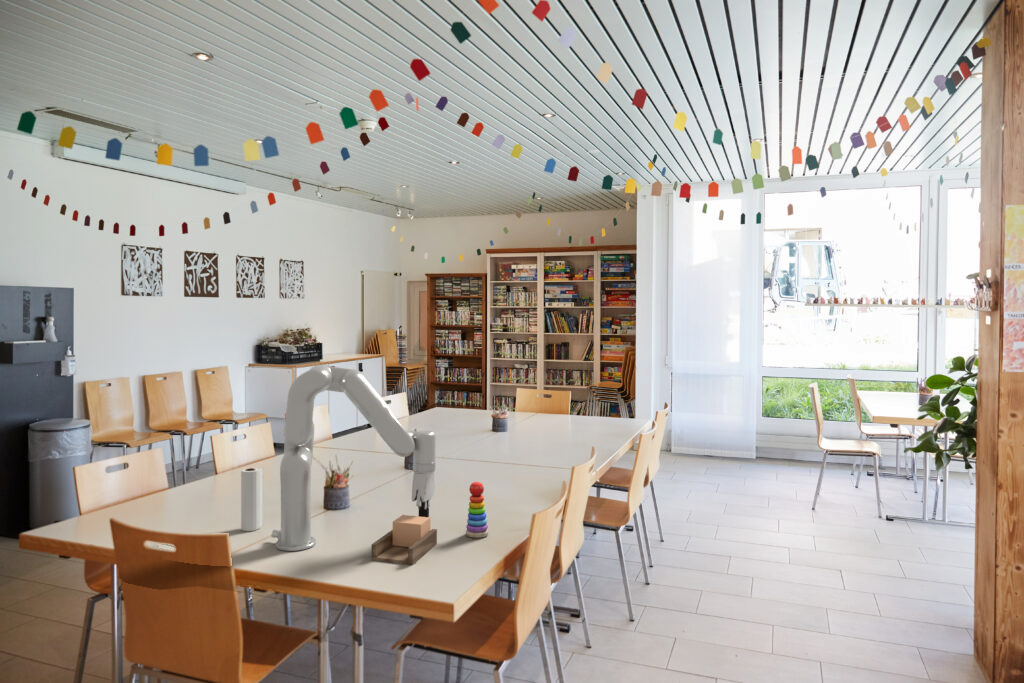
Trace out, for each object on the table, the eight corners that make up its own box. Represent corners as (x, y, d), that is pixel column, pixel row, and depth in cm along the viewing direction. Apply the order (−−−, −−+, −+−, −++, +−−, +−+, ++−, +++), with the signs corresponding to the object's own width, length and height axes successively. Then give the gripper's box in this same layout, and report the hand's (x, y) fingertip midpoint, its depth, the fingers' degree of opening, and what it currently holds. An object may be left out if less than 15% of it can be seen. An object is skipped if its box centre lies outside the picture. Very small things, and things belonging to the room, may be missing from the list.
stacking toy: (488, 531, 243) (489, 479, 242) (488, 538, 235) (489, 485, 234) (466, 531, 242) (466, 479, 242) (465, 538, 234) (466, 484, 234)
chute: (371, 560, 213) (371, 544, 213) (398, 539, 232) (398, 525, 232) (412, 565, 209) (413, 548, 209) (436, 544, 228) (436, 529, 228)
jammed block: (392, 545, 223) (392, 521, 223) (402, 537, 231) (402, 514, 230) (420, 548, 220) (421, 524, 220) (430, 540, 228) (430, 517, 228)
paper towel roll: (240, 532, 237) (240, 471, 237) (242, 527, 243) (242, 467, 242) (262, 530, 239) (262, 470, 239) (263, 525, 245) (263, 466, 244)
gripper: (422, 461, 243) (421, 512, 243) (405, 471, 228) (404, 525, 229) (442, 463, 241) (441, 514, 242) (426, 472, 226) (425, 527, 227)
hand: (423, 519), depth 235 cm, fingers closed
